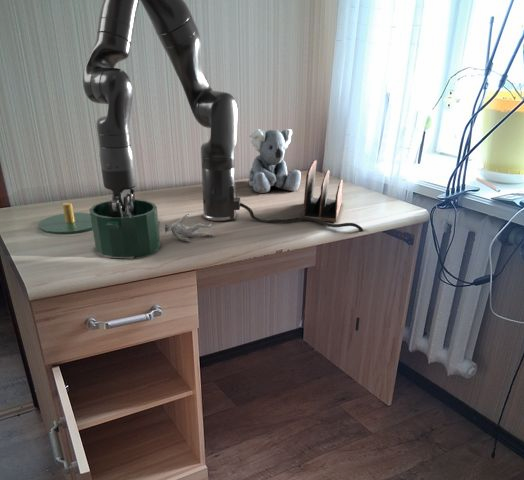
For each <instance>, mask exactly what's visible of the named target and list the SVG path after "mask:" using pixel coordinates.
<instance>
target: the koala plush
mask: <svg viewBox="0 0 524 480" xmlns="http://www.w3.org/2000/svg"><path fill="white" fill-rule="evenodd" d="M292 135H293V130H292V129H289V128H285V129H283V130H281V131H279V130H277V129H268V130H266V131H265V130H263V129H260V128H257V127H256V128H254V129H253V131H252V132H251V134H250V135H249V137H250V143H251V145H252V147H254V148H255V150H256V151H257V152H258V153H259V155H256V156H255V157H254V159H253V162H252V167H251V168H250V170H249V174H248V185H249V186H250V187H252V188H253V191H254V192H256V193H260V194H267V193H269V192H270V190H271V187H275V188H277V189H280V190H285V191H288V192H289V191H291V192H295V191H298V189H299V187H300V184H301V177H302V174H301V173H302V172H301V171H300V170H297V169H291V170H290V171H289V173H288V168H287V163H286V161H285V160H284V158H285V153H286V150H287V149H288V148H289V144H290V143H291V141H292Z"/></svg>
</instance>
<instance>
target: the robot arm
mask: <svg viewBox="0 0 524 480" xmlns="http://www.w3.org/2000/svg"><path fill="white" fill-rule="evenodd" d="M140 2H141V5H142V6H143V8H144V10H145V12H146V15H147V16H148V18H149V20H150V22H151V24H152V27H153V29H154V31H155V33H156V35H157V37H158V40H159V41H160V43H161V45H162V47H163V49H164V51H165V53H166V54H167V56H168V59H169V61H170V63H171V65H172V67H173V70H174V72H175V73H176V76H177V77H178V79H179V82H180V84H181V86H182V89H183V91H184V94H185V97H186V99H187V103H188V105H189V108H190V110H191V113H192V115H193V117H194V118H195V120H196V122H197V123H198V124H199V125H200V126H202V127H204V128H206V129H210V135H209V136H210V137H209V139H208V141H206V142H204V143H202V144H201V146H200V163H201V164H200V165H201V182H202V203H203V205H202V206H203V209H202V211H203V213H202V214H203V216H202V217H203V218H204V219H205V220H208V221H212V222H226V221H234V220H235V219H236V215H237V211H240V209H241V208H243V209H245V210H246V211H247V212H248V213H249V214H250V215H249V216H250V217H251V219H253V221H255V222H259V223H267V224H275V223H291V222H296V221H310V222H314V223H318V224H320V225H323V226H326V227H330V228H344V227H354V228H356V229H357V230H359V231H360V232H364V228H363V227H362V226H361V225H360V224H357V223H355V222H342V223H332V222H325V221H321V220H318V219H315V218H310V217H303V216H297V217H296V216H295V217H290V218H274V219H271V218H270V219H261V218H259V217H257V216H256V215H255V214H254V212H253V210H252V208H250V207H249V206H248V205H246V204H244V203H242V202H241V197H236V194H237V191H236V189H237V188H236V187H237V186H236V180H235V175H236V173H235V150H236V147H237V143H238V126H239V125H238V123H239V109H238V104H237V101H236V99H235V97H234V96H233V95H232V94H231V93H230V92H227V91H219V90H213V88H212V87H211V84H209V81H208V79H207V77H206V75H205V72H204V70H203V65H202V40H201V34H200V32H199V29H198V27H197V24H196V22H195V20H194V17H193V15H192V12H191V10H190V8H189V7H188V5H187V3H186V1H185V0H103V1H102V4H101V8H100V11H99V17H98V25H97V32H96V40H95V43H94V45H93V47H92V49H91V51H90V54H89V57H88V58H87V62H86V64H85V67H84V70H83V73H82V88H83V92H84V94H85V96H86V98H87V99H88V100H89V101H90V102H93V103H95V104H101V105H108V108H107V113H106V115H104V116H100V117H98V119H97V120H96V132H97V140H98V146H99V147H98V148H99V162H100V169H101V175H102V182H103V187H104V188H105V189H107V190H110V191H111V192H112V196H111V200H112V202H109V209H110V214H111V217H128V216H129V212H130V213H131V215H132V216H134V213H135V212H136V210H135V199H136V196H135V188H136V187H137V183H138V182H137V174H136V166H135V157H134V152H133V147H132V141H131V133H130V122H131V121H130V120H131V113H132V106H133V99H134V98H133V97H134V90H133V84H132V81H131V78H130V77H129V75H128V73H127V72H126V71H125V70H123V69H122V68H117V67H116V65H117V64H118V63H119V62H123V61H125V60H127V59H128V58H129V57H130V54H131V50H132V43H133V37H134V29H135V23H136V19H137V18H136V17H137V12H138V7H139V3H140ZM129 205H130V206H129ZM360 320H361V318H360V317H356V320H355V328H354V329H355V331H356V332H357V331H359V326H360Z"/></svg>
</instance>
